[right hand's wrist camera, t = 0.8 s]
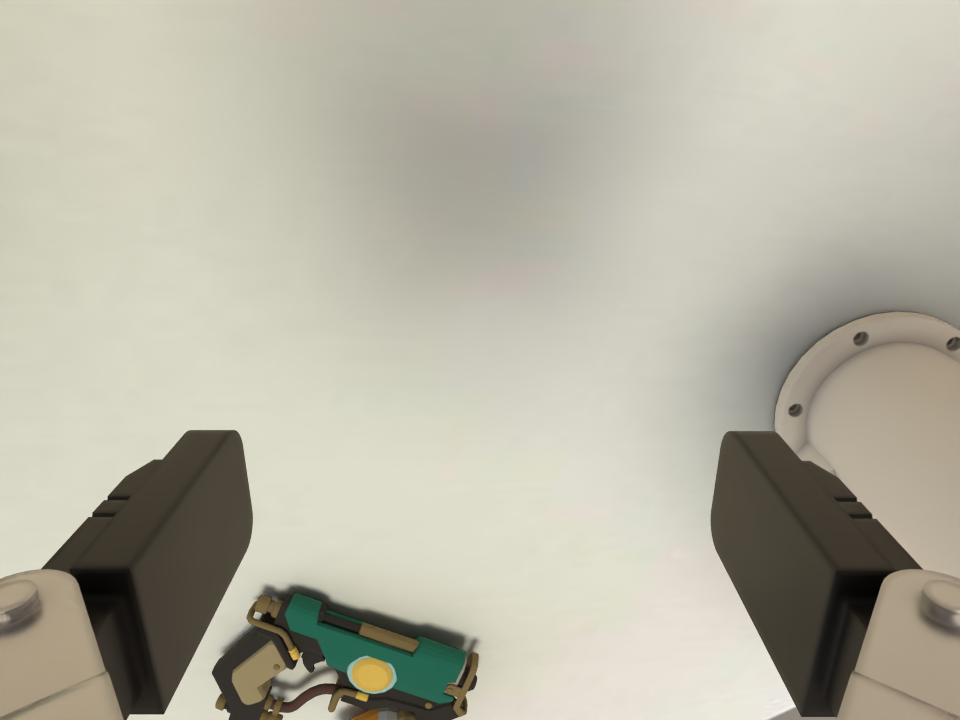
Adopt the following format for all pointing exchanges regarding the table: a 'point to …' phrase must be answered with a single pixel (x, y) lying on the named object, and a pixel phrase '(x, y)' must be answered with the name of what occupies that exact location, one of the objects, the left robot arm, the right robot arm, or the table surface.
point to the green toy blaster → (341, 666)
